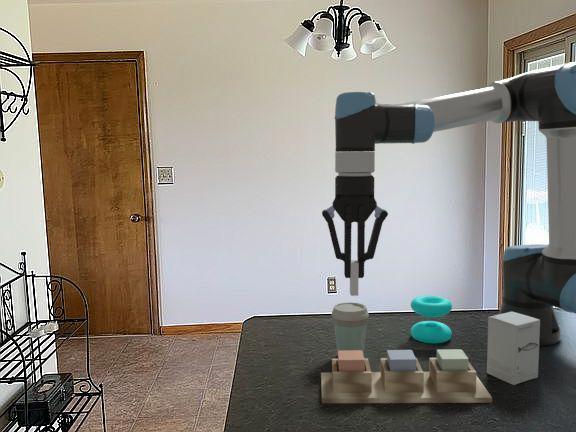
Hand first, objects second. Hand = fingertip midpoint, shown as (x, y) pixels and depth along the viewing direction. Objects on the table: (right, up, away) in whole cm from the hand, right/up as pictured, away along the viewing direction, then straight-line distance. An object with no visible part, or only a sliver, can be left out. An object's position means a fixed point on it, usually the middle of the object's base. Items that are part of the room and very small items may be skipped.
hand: (354, 293), depth 108 cm
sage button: (+20, -16, +1) cm, 25 cm away
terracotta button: (0, -16, +2) cm, 17 cm away
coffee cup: (+1, -18, +19) cm, 26 cm away
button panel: (+10, -19, +2) cm, 22 cm away
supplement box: (+34, -18, +6) cm, 39 cm away
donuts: (+23, -16, +30) cm, 41 cm away
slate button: (+10, -16, +1) cm, 19 cm away
